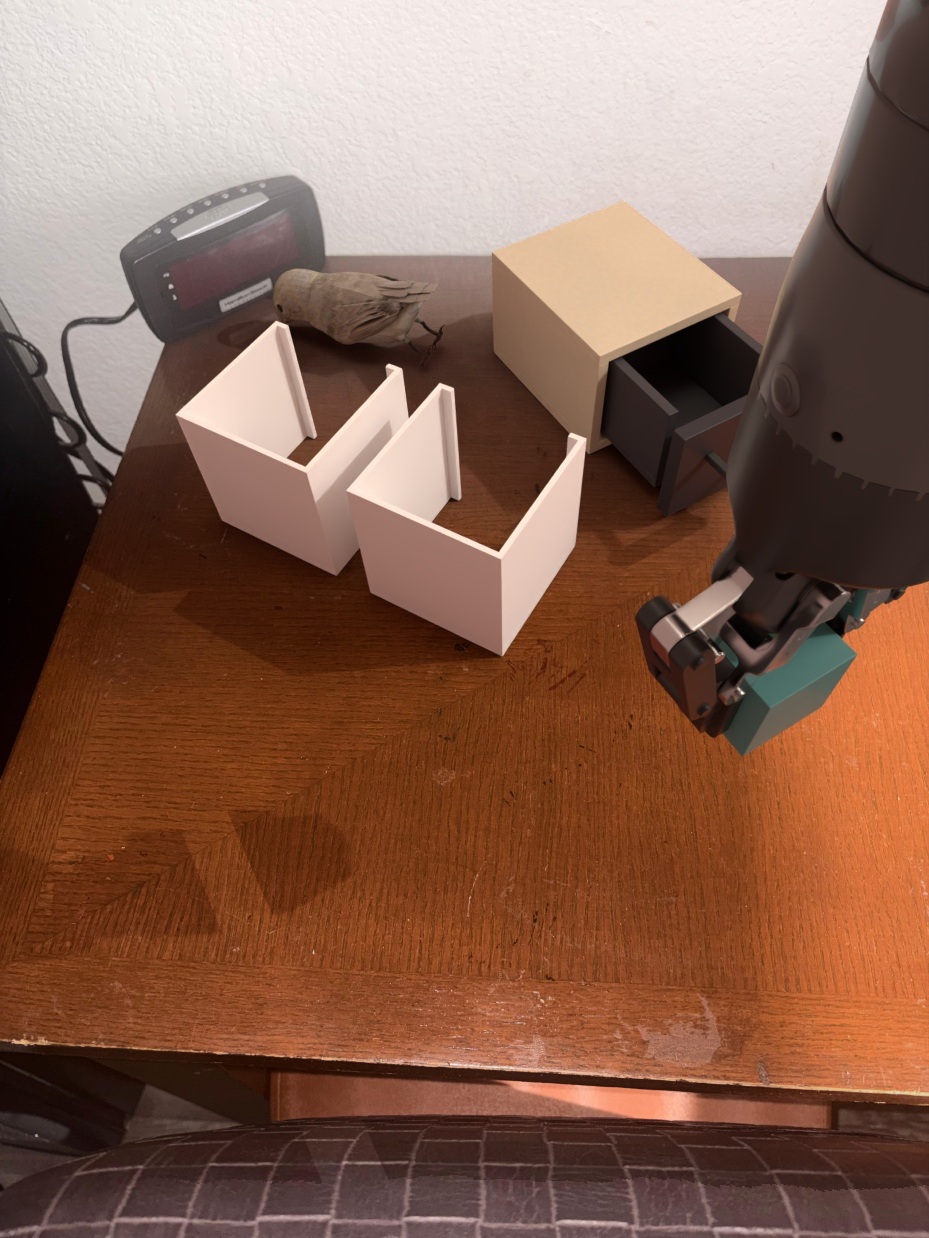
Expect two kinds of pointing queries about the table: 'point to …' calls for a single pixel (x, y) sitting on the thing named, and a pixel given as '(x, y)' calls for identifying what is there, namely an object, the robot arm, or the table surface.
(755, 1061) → the table surface
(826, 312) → the robot arm
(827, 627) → the block
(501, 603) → the white desk organizer
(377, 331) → the decorative bird
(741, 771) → the table surface
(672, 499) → the drawer
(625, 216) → the beige hollow box
